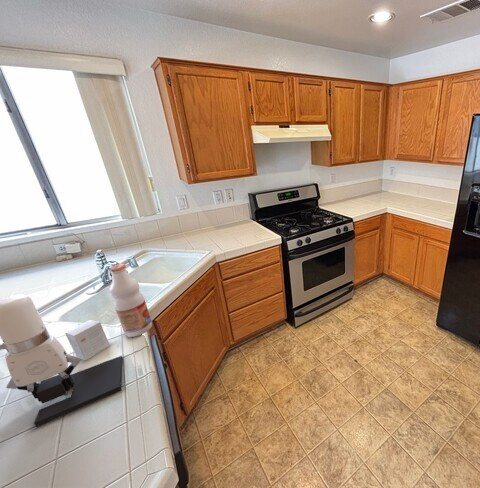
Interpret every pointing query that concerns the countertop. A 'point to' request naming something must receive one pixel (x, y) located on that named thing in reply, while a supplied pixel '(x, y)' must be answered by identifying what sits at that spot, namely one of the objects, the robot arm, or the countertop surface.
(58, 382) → the pad piece
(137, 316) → the fruit juice
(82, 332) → the small box
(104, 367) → the base pad
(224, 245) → the countertop surface
